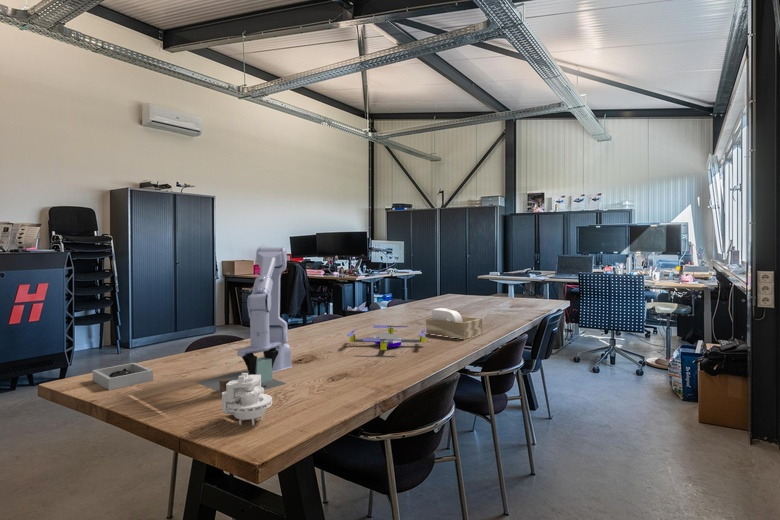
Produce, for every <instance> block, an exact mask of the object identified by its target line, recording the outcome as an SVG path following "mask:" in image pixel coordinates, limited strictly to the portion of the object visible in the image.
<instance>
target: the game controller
mask: <svg viewBox="0 0 780 520" xmlns="http://www.w3.org/2000/svg"><path fill="white" fill-rule="evenodd" d="M128 374H131V371H127V369H123V370H122V371H116V372H113V373H111V374H110V375H109V377H111V378H113V377H118V376H123V375H128Z"/></svg>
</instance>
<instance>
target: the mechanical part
mask: <svg viewBox="0 0 780 520" xmlns="http://www.w3.org/2000/svg"><path fill="white" fill-rule="evenodd" d="M272 405H273V397H272V396H271V395H269V394H266V393H265V390H264V388H263V387H261V375H248V373H242V376H239V377H238V380H234V381H230V382H228V383H227V384H226V391H225V392H223V393H221V408H222V409H221V410H222V412H223V413H224V414H225V415H232V416H234V418H235V419H238V424H239V426H241V425H242V422H243V420H251V426H255V419H256V418H257V419H258V418H259V419H260V420H259V421H263V416H264V415H265V414H266V409H268V408H270V407H271V406H272Z"/></svg>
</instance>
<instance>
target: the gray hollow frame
mask: <svg viewBox="0 0 780 520" xmlns="http://www.w3.org/2000/svg"><path fill="white" fill-rule="evenodd" d="M123 369H127V371H131V374H128V375H123V376H118V377H113V378H111V377H109V375H110V374H111V373H113V372H116V371H122V370H123ZM153 381H154V369H151V368H149V367H147V366H144V365H141V364H139V363H136V362H132V363H131V362H130V363H125V364H119V365H114V366H109V367H103V368H98V369H94V370H93V369H92V382H94V383H96V384H98V385H99V386H101V387H102V388H104V389H106V390H108V391H112V390H117V389H121V388H125V387H131V386H134V385H139V384H145V383H149V382H153Z"/></svg>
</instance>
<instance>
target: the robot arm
mask: <svg viewBox="0 0 780 520" xmlns="http://www.w3.org/2000/svg"><path fill="white" fill-rule="evenodd" d="M287 253H288V252H287V249H286V248H285V246H282V247H279V246H277V247H258V248H257V249H256V253H255V256H256V258H255V259H256V263H257V265H258V267H259V269H260V270H259V276H257V277H256V278H255V280H254V283H253V287H252V292H251V294H249V295H248V297H247V300H246V301H247V303H246V304H247V306H246V307H247V310H248V311H247V312H248V318H249V326H250V327H249V328H250V329H249V331H250V345H249V346H245V347H242V348H238V349H237V351H236V352H237V354H236V355H237V357H240V358H241V359H242V360H243V362H244V364H245V366H246V368H247V371H248V372H249V375H256V360H257V358H258V356H257V355H255V354H257V353H262V357H265V358H270V359H272V373H274V372H278V371H279V372H280V371H282V370H283V371H284V370H286V369H290V368H293V366H292V350H291V346H290V344H289V343H287V342H288V340H289V329H288V322H287V321H286V320H284V319H283V318H282V317H281V314H280V313H281V277H282V273H283V272H284V271H286V270H287V261H288V260H287V256H288V255H287Z"/></svg>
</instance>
